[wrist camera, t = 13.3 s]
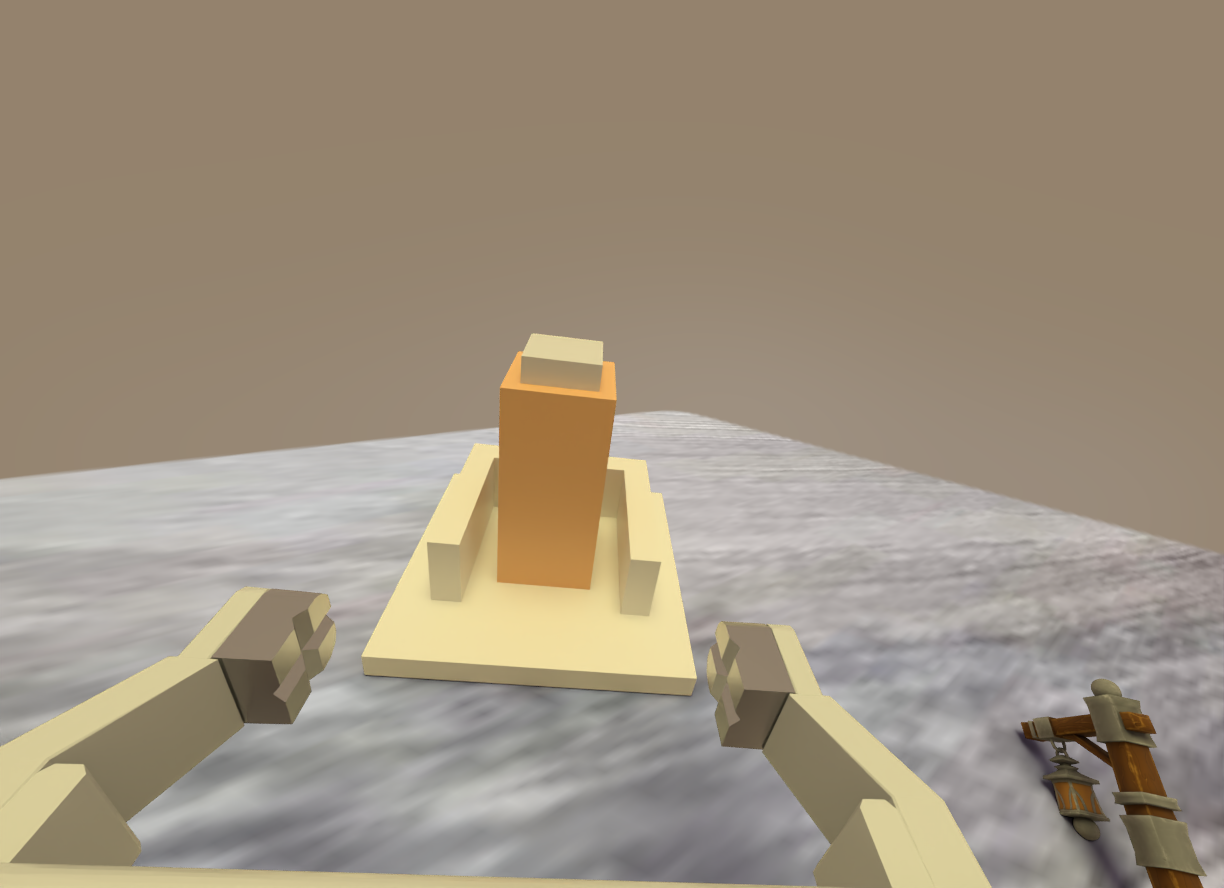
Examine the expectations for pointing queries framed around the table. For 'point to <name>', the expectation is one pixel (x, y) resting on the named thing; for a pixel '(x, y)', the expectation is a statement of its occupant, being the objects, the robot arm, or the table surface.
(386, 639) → the holder
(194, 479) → the table surface
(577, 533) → the block
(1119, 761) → the wooden post with brackets
